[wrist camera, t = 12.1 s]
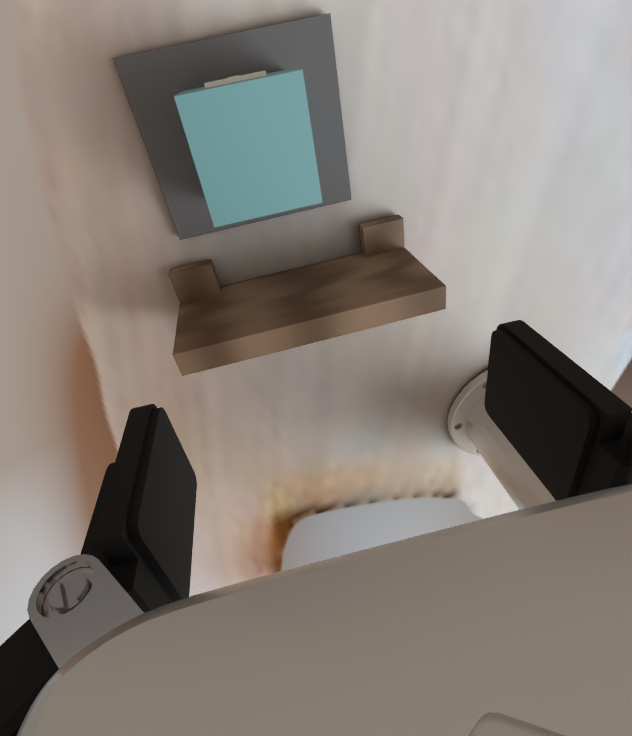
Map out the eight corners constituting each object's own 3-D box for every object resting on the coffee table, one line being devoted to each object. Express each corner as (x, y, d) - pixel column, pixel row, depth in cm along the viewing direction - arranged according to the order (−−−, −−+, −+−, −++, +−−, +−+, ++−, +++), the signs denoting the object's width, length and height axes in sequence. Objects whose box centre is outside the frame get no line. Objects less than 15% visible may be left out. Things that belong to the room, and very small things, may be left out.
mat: (327, 14, 24) (330, 13, 23) (349, 197, 30) (351, 199, 29) (114, 58, 23) (112, 58, 22) (180, 237, 29) (180, 239, 28)
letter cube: (284, 65, 24) (302, 64, 19) (303, 179, 28) (322, 202, 23) (180, 87, 24) (172, 91, 19) (214, 199, 27) (214, 227, 23)
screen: (398, 214, 31) (446, 252, 25) (401, 287, 35) (445, 337, 28) (169, 269, 30) (158, 323, 24) (198, 339, 34) (194, 402, 27)
